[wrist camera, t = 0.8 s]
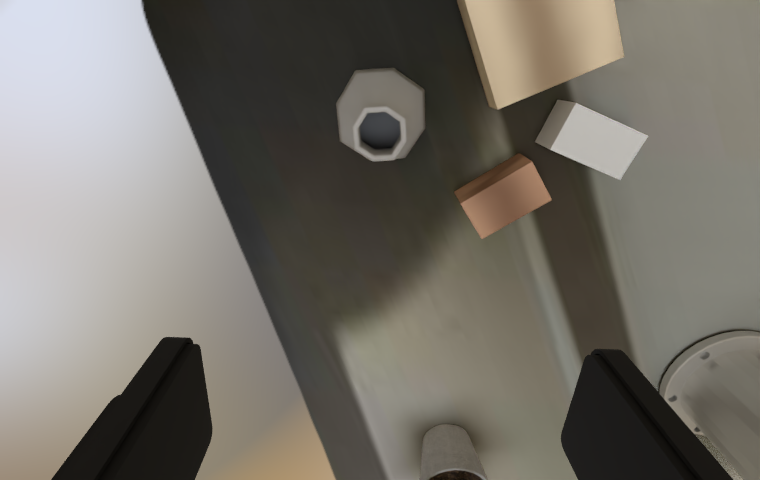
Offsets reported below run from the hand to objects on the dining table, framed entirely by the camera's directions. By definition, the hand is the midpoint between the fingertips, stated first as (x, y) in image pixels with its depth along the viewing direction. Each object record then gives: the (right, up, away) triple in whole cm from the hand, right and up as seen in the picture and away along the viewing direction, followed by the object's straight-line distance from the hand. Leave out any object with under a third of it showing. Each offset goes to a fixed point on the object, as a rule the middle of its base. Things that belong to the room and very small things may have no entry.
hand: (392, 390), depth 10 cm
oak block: (+11, +20, +20) cm, 30 cm away
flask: (0, +14, +23) cm, 26 cm away
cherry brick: (+9, +8, +25) cm, 28 cm away
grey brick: (+16, +12, +23) cm, 30 cm away
